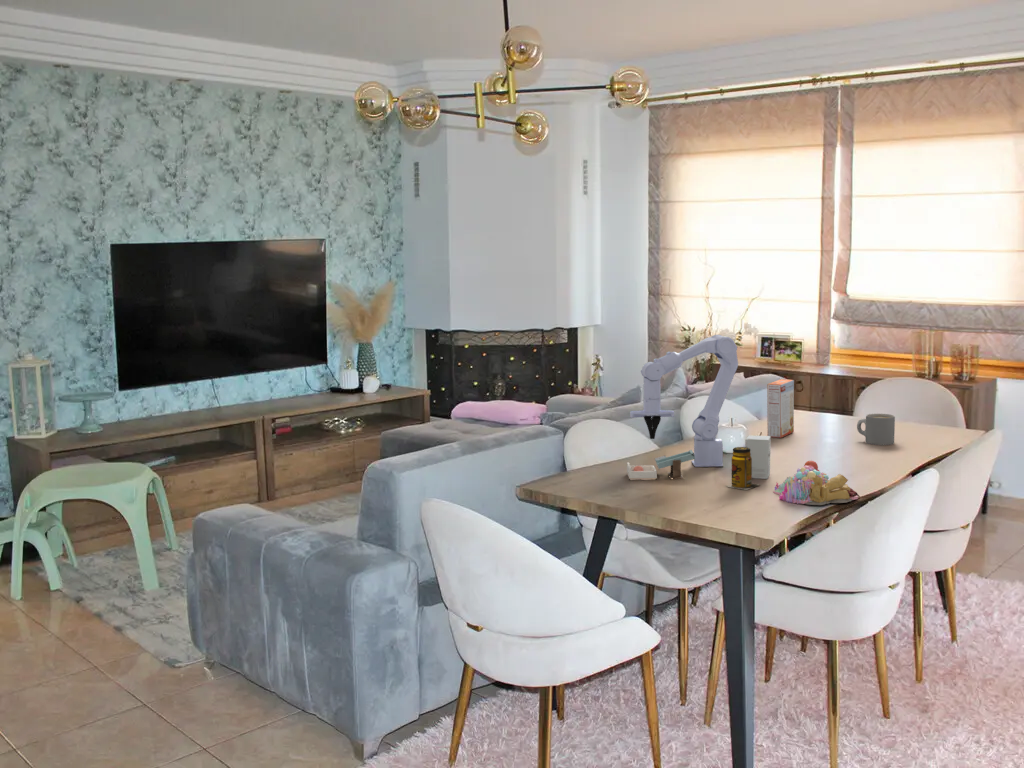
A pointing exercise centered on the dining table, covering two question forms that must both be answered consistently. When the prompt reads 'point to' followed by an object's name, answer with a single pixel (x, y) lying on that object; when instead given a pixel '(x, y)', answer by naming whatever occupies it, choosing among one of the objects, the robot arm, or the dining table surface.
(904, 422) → the dining table surface
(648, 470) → the dish
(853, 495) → the candy landscape model
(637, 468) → the ball
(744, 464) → the condiment
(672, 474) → the fulcrum
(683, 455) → the lever
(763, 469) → the supplement box
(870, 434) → the coffee mug
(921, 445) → the dining table surface
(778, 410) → the cracker box
